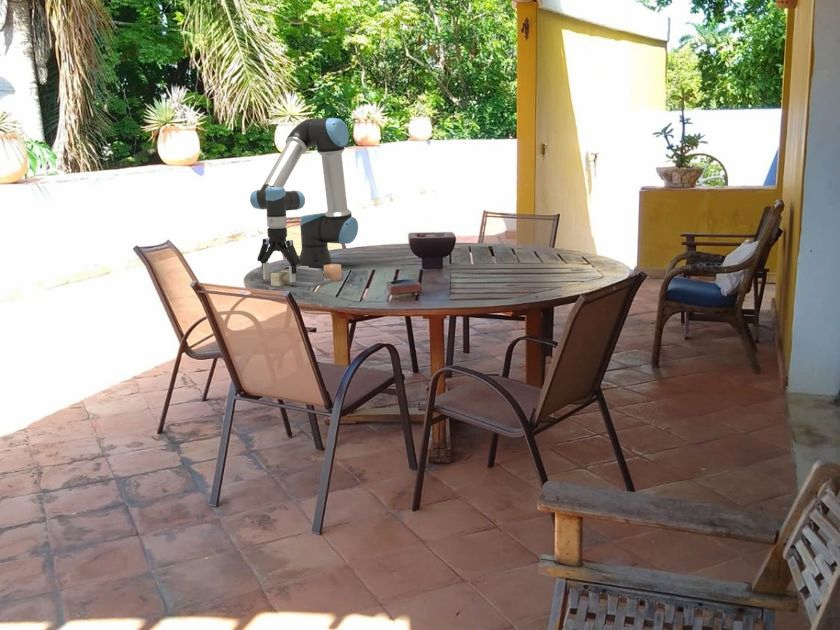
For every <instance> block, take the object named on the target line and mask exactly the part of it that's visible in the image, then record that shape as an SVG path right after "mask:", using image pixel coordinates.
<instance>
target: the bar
mask: <svg viewBox="0 0 840 630" xmlns="http://www.w3.org/2000/svg"><path fill="white" fill-rule="evenodd" d="M300 267H306V268H309V266H299V265H298V266H296V271H297V268H300ZM295 275H296V274H295ZM269 278H270V286H271V287H272V286H275V287H281V286H286V285H288V282H289V281H290V277H289V268H287V269H283V270H279V271H276V272H272V273H269Z"/></svg>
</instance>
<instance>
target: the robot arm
mask: <svg viewBox="0 0 840 630" xmlns="http://www.w3.org/2000/svg"><path fill="white" fill-rule="evenodd" d="M349 138H350V133H349V128H348V127H347V125H346V123H345V122H344V121H343V120H342V119H341V118H335V117H326V118H325V117H324V118H321V117H320V118H308V119H305V120H303V121H302V122H300V123H298V124H297V125H296V126H295V127H294V128H293V129H292V130H291V132H290V133H289V135H288V136H287V138H286V140H285V146H284V148H283V149H282V151H281V152H280V155H279V157H278V158H277V160H276V161H275V164H274V165H273V167H272V169H271V170H270V172H269V174H268V175H267V177H266V179H265V180H264V183H263V185H262V186H261V188H260V190H259V189H258V190H254V191H252V192H251V194H250V197H249V198H250V199H249V202H250V205H251V206H252V207H253V208H254V209H256V210H257V209H258V210H263V211H264V210H266V225H267V230H266V231H267V238H263V239H262V245H261V246H260V247H261V248H260V250H259V253H258V256H257V262H260V263H261V270H262V274H263V275H262V277H263V280H271V277H270V264H269V260H270V258H271V256H272V255H273V253H274V252H280V253H282V254H283V256H284V257H285V258H286V260H287V262H288V264H289V266H288V269H289V277H290V282H296V275H295V274H296V272H297V271H296V267H297V265H298V266H309V268H324V265H326V264H333V259H332V257H331V253H330V251H329V248H328V247H329V245H328V244H340V245H344V244H346V245H347V244H348V245H349V244H351V243H352V242H354V240H355V239H356V238H357V235H358V233H359V222H358V220H357V218H355V217H354V216H353V215H352V211H351V210H350V209H349V208H348V202H347V201H348V200H347V194H346V193H347V192H346V184H345V176H344V175H345V172H344V166H343V165H344V163H343V152H344V151H345V147H346V145H347V144H348V143H349ZM311 147H316V150H317V153H318V154H319V155H320V156H321V162H322V164H321V165H322V170H323V171H322V172H323V180H324V187H325V197H326V206H327V211H326V212H322V213H321V212H319V213H312V214H307V215H303V216H301V217H300V225H299V227H300V239H301V251H300V254H299V255H298V253H297V250H296V248H295V246H294V241H293V239H288V240H287V237H288V229H287V226H288V224H287V223H288V222H287V211H297V210H300V209H302V208H303V207H304V206H305V203H306V198H305V195H304V193H303V192H302V191H299V190H286V188H285V185H286V184H287V182H288V180H289V178H290V176H291V174H292V173H293V171H294V168H295V167H296V165H297V163H298V162H299V160H300V158H301V156H302V155H303V154H305V153H306V152H307V151H308V149H309V148H311Z"/></svg>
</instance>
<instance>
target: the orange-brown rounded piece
mask: <svg viewBox="0 0 840 630" xmlns="http://www.w3.org/2000/svg"><path fill="white" fill-rule="evenodd" d="M323 276H324V279H331V282H340V281H341V280H343V279H342V278H343V277H342V264H341V263H340V264H339V263H332V264H326V265H324V267H323Z"/></svg>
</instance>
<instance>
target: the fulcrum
mask: <svg viewBox="0 0 840 630" xmlns="http://www.w3.org/2000/svg"><path fill="white" fill-rule="evenodd" d="M331 282H332V281H331V279H324V274H323V271H322V268H317V267H314V268H306V267H300V268H297V272H296V282H290V281H289V282H288V284H287V285H288V286H296V287H305V288H315V287H317V286H322V285H326V284H329V283H331Z"/></svg>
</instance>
